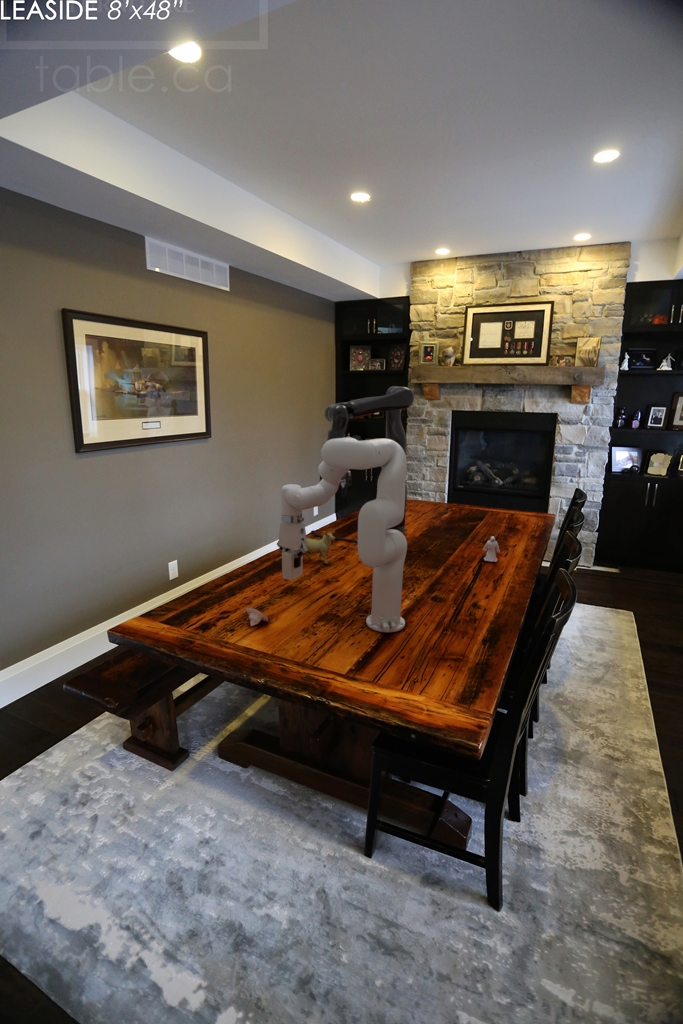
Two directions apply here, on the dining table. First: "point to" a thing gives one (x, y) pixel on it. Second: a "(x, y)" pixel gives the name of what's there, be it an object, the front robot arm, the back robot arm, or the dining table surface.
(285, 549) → the front robot arm
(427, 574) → the dining table surface
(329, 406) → the back robot arm
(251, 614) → the seashell
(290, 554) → the brick
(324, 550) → the toy
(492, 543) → the figurine
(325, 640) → the dining table surface
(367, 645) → the dining table surface
